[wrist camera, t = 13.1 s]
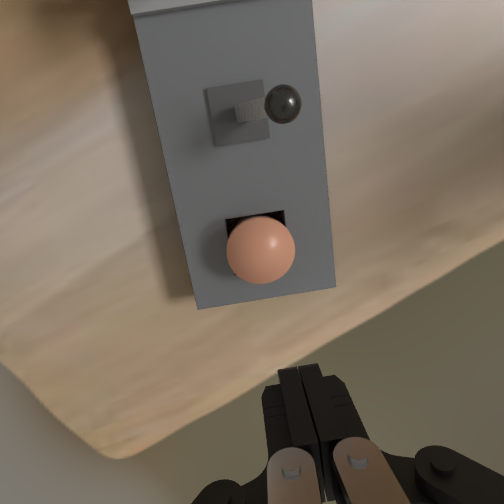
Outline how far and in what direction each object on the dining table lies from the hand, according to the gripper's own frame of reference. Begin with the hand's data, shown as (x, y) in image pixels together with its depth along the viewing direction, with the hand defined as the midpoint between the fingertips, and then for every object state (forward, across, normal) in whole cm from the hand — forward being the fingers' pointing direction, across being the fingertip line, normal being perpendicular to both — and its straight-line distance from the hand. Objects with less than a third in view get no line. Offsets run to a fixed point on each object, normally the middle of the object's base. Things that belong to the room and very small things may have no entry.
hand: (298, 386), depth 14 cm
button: (+20, 0, 0) cm, 20 cm away
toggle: (+18, 0, -10) cm, 20 cm away
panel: (+21, 0, -10) cm, 23 cm away
